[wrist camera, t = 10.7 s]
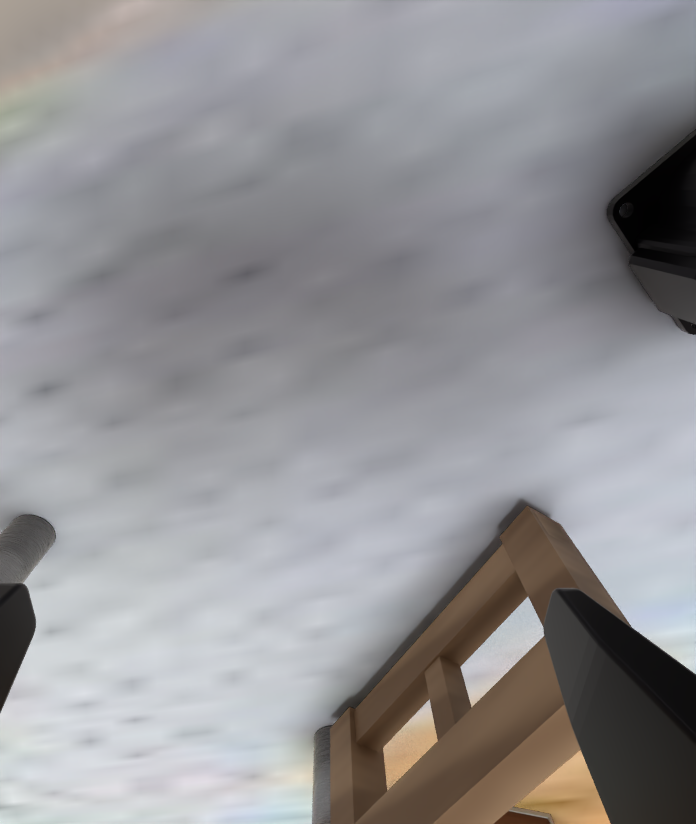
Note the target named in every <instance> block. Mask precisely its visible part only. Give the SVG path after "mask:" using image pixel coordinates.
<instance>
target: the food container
mask: <svg viewBox="0 0 696 824" xmlns="http://www.w3.org/2000/svg"><path fill="white" fill-rule="evenodd" d="M494 824H554V822H553V819H552V817H551V815H550V814H548V813H543V812H537V811H532V810H527V809H522V808H517V807H512V808H511V809H510V810H509V811H508V812H507V813H505V814H504V815H503V816H502V817H501V818H500V819H498V820H497V821H496V822H495V823H494Z"/></svg>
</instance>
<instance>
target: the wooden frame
mask: <svg viewBox="0 0 696 824" xmlns="http://www.w3.org/2000/svg"><path fill="white" fill-rule="evenodd" d="M499 538H500V540H501V542H502V545H501V546H500V547H499V548H498V549H497V551H496V552H495V553H494V554H493V555H492V556H491V557H490V558H489V560H488V561H487V562H486V563H485V564H484V565H483V566H482V567H481V569H480V570H479V571H478V572H477V573H476V574H475V575H474V576H473V578H472V579H471V580H470V581H469V582H468V583H467V584H466V585H465V586H464V588H463V589H462V590H461V591H460V592H459V593H458V594H457V595H456V597H455V598H454V599H453V600H452V601H451V602H450V603H449V604H448V606H447V607H446V608H445V609H444V610H443V611H442V612H441V613H440V615H439V616H438V617H437V618H436V619H435V620H434V621H433V622H432V624H431V625H430V626H429V627H428V628H427V629H426V630H425V631H424V632H423V634H422V635H421V636H420V637H419V638H418V639H417V640H416V641H415V643H414V644H413V645H412V646H411V647H410V648H409V649H408V650H407V652H406V653H405V654H404V655H403V656H402V657H401V658H400V659H399V661H398V662H397V663H396V664H395V665H394V666H393V667H392V668H391V670H390V671H389V672H388V673H387V674H386V675H385V676H384V677H383V678H382V680H381V681H380V682H379V683H378V684H377V685H376V686H375V687H374V689H373V690H372V691H371V692H370V693H369V694H368V695H367V696H366V698H365V699H364V700H363V701H362V702H361V703H360V704H359V705H358V707H357V708H356V709H354V708H351V707H349V708H348V709H347V710H346V711H345V712H344V713H343V715H342V716H341V717H340V718H339V719H338V720H337V721H336V722H335V724H334V725H333V726H332V727H331V728H330V824H494V823H495V822H496V821H497V820H498V819H500V818H501V817H502V816H503V815H504V814H505V813H507V812H508V811H509V810H510V809H511V808H512V807H514V806H515V805H516V804H517V803H518V802H520V801H521V800H522V799H523V798H524V797H525V796H527V795H528V794H529V793H530V792H531V791H532V790H534V789H535V788H536V787H537V786H538V785H540V784H541V783H542V782H543V781H544V780H545V779H547V778H548V777H549V776H550V775H551V774H552V773H554V772H555V771H556V770H557V769H558V768H559V767H561V766H562V765H563V764H564V763H565V762H567V761H568V760H569V759H570V758H571V757H572V756H574V755H575V754H576V753H577V752H578V751H579V750H581V749H580V747H579V744H578V742H577V739H576V737H575V734H574V731H573V729H572V726H571V723H570V720H569V717H568V714H567V711H566V707H565V704H564V701H563V697H562V694H561V690H560V687H559V684H558V680H557V677H556V674H555V670H554V667H553V663H552V660H551V657H550V653H549V650H548V647H547V643H546V640H545V636H544V637H543V638H542V639H541V640H540V641H539V642H538V643H537V644H536V645H535V646H534V647H533V648H532V649H531V650H530V651H529V652H528V653H527V654H526V655H524V656H523V657H522V658H521V659H520V660H519V661H518V662H517V663H516V664H515V665H514V666H513V667H512V668H511V669H510V670H509V671H508V672H507V673H506V674H505V675H504V676H503V677H502V678H501V679H500V680H499V681H498V682H497V683H496V684H495V685H494V686H493V687H492V688H491V689H490V690H489V691H488V692H487V693H486V694H485V695H484V696H483V697H482V698H481V699H480V700H479V701H478V702H477V703H476V704H475V705H474V706H473V707H472V708H471V704H470V701H469V697H468V693H467V690H466V686H465V682H464V679H463V675H462V672H461V668H460V667H461V666H462V664H463V663H464V662H465V661H466V660H467V659H468V658H469V657H470V656H471V655H472V654H473V653H474V652H475V651H476V650H477V649H478V648H479V647H480V646H481V645H482V644H483V643H484V642H485V640H486V639H487V638H488V637H489V636H490V635H491V634H492V633H493V632H494V631H495V630H496V629H497V628H498V627H499V626H500V625H501V624H502V623H503V622H504V621H505V620H506V619H507V618H508V616H509V615H510V614H511V613H512V612H513V611H514V610H515V609H516V608H517V607H518V606H519V605H520V604H521V603H522V602H523V601H524V600H525V599H526V598H527V597H529V599H530V601H531V603H532V605H533V607H534V609H535V611H536V613H537V615H538V617H539V619H540V621H541V623H542V625H543V627H544V620H545V616H546V612H547V608H548V605H549V601H550V597H551V594H552V592H553V590H554V589H556V588H577V589H579V590H581V591H583V592H584V593H585V594H587V595H588V596H590V597H591V598H592V599H594V600H595V601H596V602H598V603H599V604H600V605H602V606H603V607H605V608H606V609H607V610H609V611H610V612H611V613H613V614H614V615H615V616H617V617H618V618H620V619H621V620H622V621H624V622H625V623H626V624H628V625H629V626H630V627H631V625H630V624H629V622H628V621H627V620H626V618H625V617H624V615H623V614H622V612H621V611H620V610H619V608H618V607H617V605H616V604H615V602H614V601H613V599H612V598H611V597H610V595H609V594H608V592H607V591H606V589H605V588H604V586H603V585H602V584H601V582H600V581H599V579H598V578H597V576H596V575H595V573H594V572H593V571H592V569H591V568H590V566H589V565H588V563H587V562H586V561H585V559H584V558H583V556H582V555H581V553H580V552H579V550H578V549H577V548H576V546H575V545H574V543H573V542H572V540H571V539H570V537H569V536H568V535H567V533H566V532H565V530H564V529H563V527H562V526H561V524H559V523H557V522H555V521H554V520H552V519H550V518H548V517H546V516H545V515H543V514H541V513H539V512H538V511H536V510H534V509H532V508H531V507H529V506H526V507H525V508H524V510H523V511H522V512H521V513H520V514H519V515H518V516H517V517H516V519H515V520H514V521H513V522H512V523H511V524H510V525H509V527H508V528H507V529H506V530H505V531H504V532H503V533H502V534H501V536H500V537H499ZM429 699H430V703H431V708H432V713H433V718H434V723H435V728H436V733H437V739H438V742H437V743H435V744H434V745H433V746H432V747H431V748H430V749H429V750H428V751H427V752H426V753H425V754H424V755H423V756H422V757H421V758H420V759H419V760H418V761H417V762H416V763H415V764H414V765H413V766H412V767H411V768H410V769H409V770H408V771H407V772H406V773H405V774H404V775H403V776H402V777H401V778H400V779H399V780H398V781H397V782H396V783H395V784H394V785H393V786H392V787H391V788H390V789H389V790H388V791H387V785H386V775H385V765H384V754H383V747H384V746H385V745H386V744H387V743H388V742H389V741H390V740H391V739H392V737H393V736H394V735H395V734H396V733H397V732H398V731H399V730H400V729H401V728H402V727H403V726H404V725H405V724H406V723H407V722H408V721H409V720H410V719H411V718H412V717H413V716H414V715H415V714H416V712H417V711H418V710H419V709H420V708H421V707H422V706H423V705H424V704H425V703H426V702H427V701H428V700H429Z"/></svg>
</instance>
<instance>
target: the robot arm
mask: <svg viewBox="0 0 696 824" xmlns="http://www.w3.org/2000/svg"><path fill="white" fill-rule="evenodd" d="M624 203H626V204H627V207H628V209H627V213H626V214H625V215H624V216H622V217H621V216H620V213H619V210H620V207H621V206H622V205H623V204H624ZM607 216H608V219H609V221H610V222H611V224H612V225H613V227H614V229H615V230H616V232H617V233H618V235H619V236H620V238H621V239H622V241H623V242H624V244H625V245H626V247H627V248H628V250H629V252H630V253H631V255H630V256H629V266H630V268H631V269H632V271H633V272H634V274H635V275H636V277H637V278H638V280H639V281H640V283H641V284H642V286H643V287H644V289H645V290H646V292H647V293H648V295H649V296H650V298H651V299H652V301H653V302H654V304H655V305H656V307H657V308H658V310H659V311H661V312H663V313H666V314H669V315H671V316H672V317H673V319H674V320H675V322H676V323H677V325H678V327H679V328H680V329H681V330H682V331H684V332H687V333H689V334H693V335H694V334H696V130H694V131H693V132H692V133H691V134H690V135H688V136H687V137H686V138H685V139H684V140H683V141H681V142H680V143H679V144H678V145H677V146H675V147H674V148H673V149H672V150H671V151H669V152H668V153H667V154H666V155H665V156H664V157H662V158H661V159H660V160H659V161H658V162H656V163H655V164H654V165H653V166H652V167H651V168H649V169H648V170H647V171H646V172H645V173H643V174H642V175H641V176H640V177H639V178H638V179H636V180H635V181H634V182H633V183H632V184H630V185H629V186H628V187H627V188H626V189H625V190H623V191H622V192H621V193H620V194H619V195H617V196H616V197H615V198H614V199H613V200H612V201H611V202H610V204H609V206H608V208H607ZM691 323H693V324H694V325H692V326H691ZM35 628H36V618H35V614H34V610H33V606H32V603H31V599H30V595H29V591H28V588H27V587H26V585H25V584H23V583H0V713H1V710H2V708H3V706H4V703H5V701H6V699H7V696H8V694H9V692H10V689H11V687H12V685H13V682H14V680H15V678H16V675H17V673H18V671H19V668H20V666H21V664H22V661H23V659H24V657H25V654H26V652H27V650H28V647H29V645H30V643H31V640H32V638H33V635H34V632H35ZM544 636H545V640H546V643H547V647H548V650H549V653H550V657H551V660H552V663H553V667H554V670H555V674H556V677H557V680H558V684H559V687H560V690H561V694H562V697H563V701H564V704H565V707H566V711H567V714H568V717H569V720H570V723H571V726H572V729H573V731H574V734H575V737H576V739H577V742H578V744H579V747H580V749H581V752H582V754H583V756H584V759H585V761H586V764H587V766H588V769H589V771H590V774H591V776H592V779H593V781H594V783H595V786H596V788H597V791H598V793H599V796H600V798H601V801H602V803H603V806H604V808H605V811H606V813H607V815H608V818H609V820H610V823H611V824H696V674H695V673H693V672H692V671H690V670H689V669H688V668H686V667H685V666H684V665H682V664H681V663H680V662H678V661H677V660H675V659H674V658H673V657H671V656H670V655H669V654H667V653H666V652H665V651H663V650H662V649H660V648H659V647H658V646H656V645H655V644H654V643H652V642H651V641H650V640H648V639H647V638H645V637H644V636H643V635H641V634H640V633H639V632H637V631H636V630H635V629H633V628H632V627H630V626H629V625H628V624H626V623H625V622H624V621H622V620H621V619H620V618H618V617H617V616H615V615H614V614H613V613H611V612H610V611H609V610H607V609H606V608H605V607H603V606H602V605H600V604H599V603H598V602H596V601H595V600H594V599H592V598H591V597H590V596H588V595H587V594H585V593H584V592H583V591H581V590H579V589H577V588H556V589H554V590H553V592H552V594H551V597H550V601H549V605H548V608H547V612H546V616H545V620H544Z"/></svg>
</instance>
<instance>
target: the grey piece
mask: <svg viewBox="0 0 696 824" xmlns="http://www.w3.org/2000/svg"><path fill="white" fill-rule="evenodd" d="M54 541H55V531H54V529H53V528H52V526H51V525H50V524H49V523H48V522H47V521H46V520H44V519H42V518H40V517H37V516H34V515H22V516H19V517H17V518H15V519H14V520H13V521H12V522H11V523H10V524H9V525H8V526H7V527H6V528H5V529H4V531H3V532H2V533H1V534H0V583H23V582H24V581H25V580H26V578H27V577H28V576H29V574H30V573H31V572H32V571H33V569H34V568H35V567H36V565H37V564H38V563H39V562H40V560H41V559H42V558H43V556H44V555H45V554H46V553H47V551H48V550H49V549H50V547H51V546H52V545H53V543H54ZM331 727H332V726H327V727H324V728H321V729H320V730H318V731H317V732H316V734H315V736H314V766H313V804H312V824H330V728H331Z"/></svg>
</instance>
